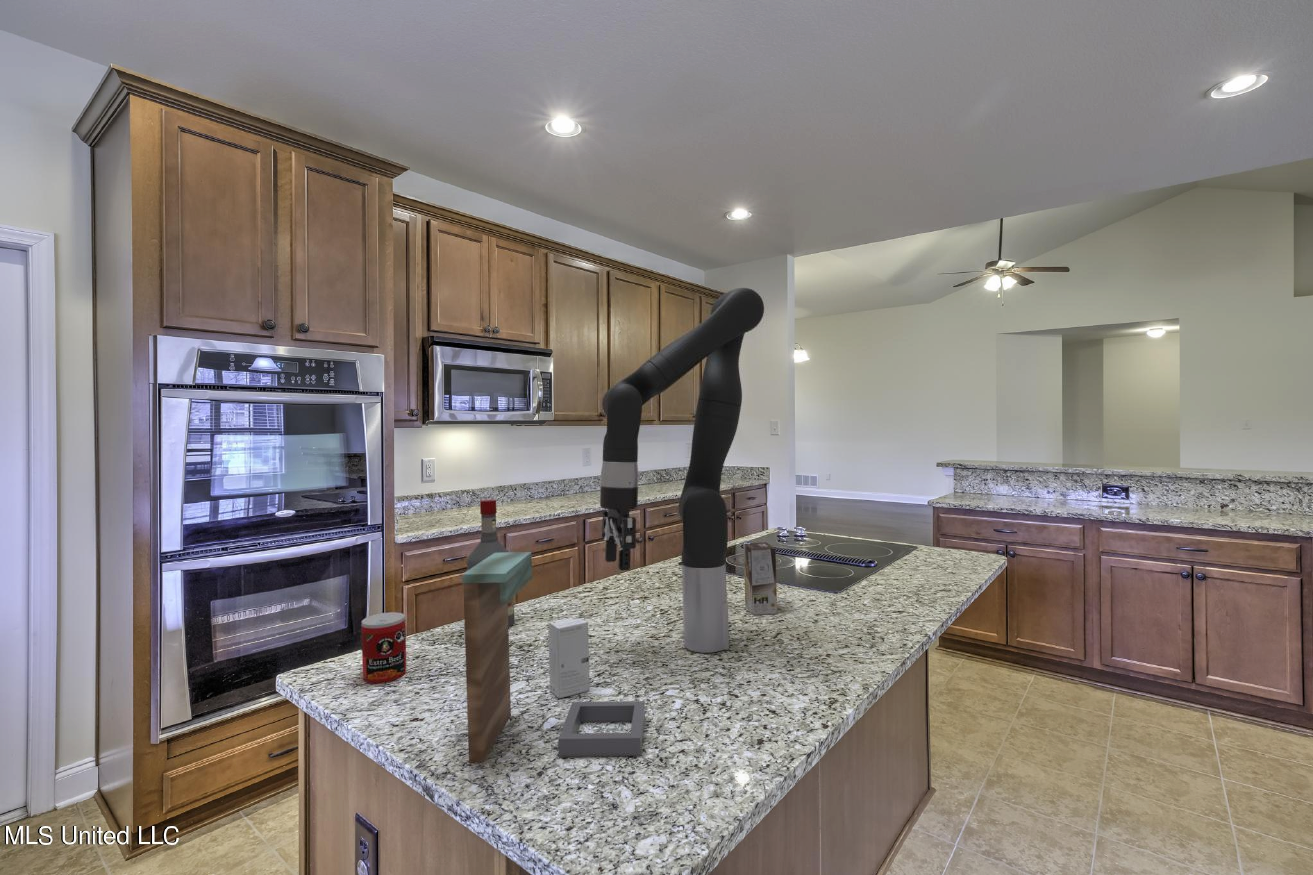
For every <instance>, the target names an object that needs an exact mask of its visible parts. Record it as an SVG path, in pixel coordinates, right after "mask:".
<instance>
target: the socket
mask: <svg viewBox="0 0 1313 875" xmlns="http://www.w3.org/2000/svg"><path fill="white" fill-rule="evenodd" d="M645 706H646V705H645V700H625V701H623V700H622V701H618V700H617V701H616V700H615V701H611V700H610V701H572V702H571V704H570V706H569V710H568V713H567V715H566V718H565V721H564V723H563V726H562V728H561V731H560V733H559V736H558V739H557V740H558V741H557V743H558V747H557V748H558V757H559V758H562V757H564V758H567V757H568V758H569V757H570V758H572V757H573V758H574V757H583V758H585V757H640V756H642V748H643V738H644V730H645V720H646V708H645ZM608 722H610V723H612V722H613V723H615V722H616V723H617V722H622V723H623V722H631V724H630V726H631V727H630V732H590V733H589V732H585V733H584V732H583V733H582V732H581V733H578V731H579V728H580V725H581V723H608Z"/></svg>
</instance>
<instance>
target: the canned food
mask: <svg viewBox="0 0 1313 875" xmlns="http://www.w3.org/2000/svg"><path fill="white" fill-rule="evenodd" d="M405 617H406V616H405V614H404V613H402V612H393V611H391V612H382V613H377V614H373V615H370V616H367V617H365V618H364V619H362V620H361V624H360V626H361V629H360V630H361V632H360V633H361V653H362V654H361V656H362V657H361V658H362V661H361V662H362V676H363V679H364V681H365V682H366V683H370V684H383V683H384V684H385V683H389V682H392V681H396V680H397V679H399V678H401V677H403V676H404V675H405V673H406V670H407V666H408V665H407V640H406V639H407V638H406V637H407V635H406V634H407V632H406V628H407V626H406V618H405Z"/></svg>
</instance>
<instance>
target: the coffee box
mask: <svg viewBox="0 0 1313 875" xmlns="http://www.w3.org/2000/svg"><path fill="white" fill-rule="evenodd" d="M742 545H743V571H744V598H745V599H744V600H745V603H744V604H745V607H746V606H747V607H746V608H747V609H748V611H750V613H751V614H752V615H753V616H755V615H756V616H757V615H758V616H759V615H775V614H776V615H777V613H778V595H777V594H778V593H777V592H778V591H777V587H778V586H777V585H778V584H777V558H776V557H777V556H776V555H777V554H776V552H777V551H776V548H775V547H774V546H772V545H771V544H769V543H768V542H765V541H764V542H748V543H745V542H744V543H743V544H742Z"/></svg>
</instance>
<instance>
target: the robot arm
mask: <svg viewBox="0 0 1313 875" xmlns="http://www.w3.org/2000/svg"><path fill="white" fill-rule="evenodd" d="M764 304H765V303H764V301H763V298H762V296H760V294H759V293H758V292H757V291H755V290H754V289H752V288H747V287H738V288H734V289H732V290H729V291H728V292H726V293H723V294H722V295H720V296H719V297H718V298H717V299H716V300H715V302H714V303H713V305H712V307H711V309H710V310H711V311H710V315H709V316H708V317H706V319H704V320H702V322H701V323H699V324H698V325H697V326H695V327H694V328H692V329H691V330H689V331H688V332H687V333H685V334H684V335H681V336H680V337H678V338H677V339H675V340H674V341H672V342H670V343H669V344H668V345H666V346H665V347H664V348H662V349H660V350H659V351H658V352H657V353H655V354H654V355H653V356H651V357H650V358H649V359H648V360H645V362H644V363H642V365H640V366H639V367H638V368H637V369H636V370H635V371H634V372H632V373H631V374H629V375H628V376H626V377H625V378H623V379H622V380H620V381H619V382H617V383H616V384H615V385H613V386H612V387H610V388H609V389H608V390H607V391H606V392H605V394H604V395H603V397H602V402H601V403H602V406H601V407H602V409H603V412H604V413H605V415H606V432H605V434H604V438H603V444H602V464H601V470H600V471H601V472H600V494H599V495H600V496H599V500H600V501H599V502H600V503H599V506H600V508H602V509H603V510H602V522H601V538H602V539H603V541H604V543H605V553H604V555H605V556H604V557H605V558H604V560H605V561H606V562H607V563H611V562H616V561H617V554H618V564H617V565H618V566H617V567H618V568H617V569H618V570H620V571H629V570H630V569H631V558H632V557H631V556H632V554H631V553H632V552H631V551H633V549H634V550H635V549H636V547H637V544H636V542H637V537H636V536H637V518H636V517H635V516H630V510H635V509H637V508H638V505H639V504H638V503H639V502H638V500H639V467H638V462H639V461H638V458H639V441H638V440H639V433H640V428H641V422H642V421H641V420H642V413H643V406H644V405H645V404H646V403H647V402H649V401H650V400H651V399H653V398H654V397H656V396H658V395H660V394H662V393H663V392H665V391H667V390H668V389H669V388H670V387H672V386H673V385H674V384H675V383H676V382H678V381H680V379H682V377H684V376H685V375H687V374H688V373H689V372H690V371H691V370H693V369H694V368H695V367H696V366H697V365H699V364H700V363H702V361H703V360H705V359H706V360H705V364H704V369H703V373H702V379H701V384H700V389H699V395H698V399H697V402H696V403H697V405H696V410H695V417H694V423H693V430H692V440H691V451H690V459H689V466H688V469H687V473H686V476H685V480H684V483H683V484H684V485H683V487H682V490H681V494H680V497H679V501H678V514H679V516H680V518H681V520H682V541H683V542H682V550H681V580H682V587H681V589H682V615H683V617H682V620H683V621H682V622H683V624H682V625H683V646H684V648H685V649H686V650H689V651H692V652H695V653H703V654H704V653H707V654H708V653H715V652H721V651H724V650H725V651H728V650H730V631H729V630H730V629H729V628H730V626H729V625H730V624H729V604H728V599H727V597H728V595H727V594H728V593H727V565H726V564H727V563H726V562H727V560H726V559H727V558H726V557H727V551H728V535H729V534H728V509H727V504H726V502H725V499H724V498H723V496H722V495H721V492H720V491H721V483H722V482H721V481H722V474H723V469H724V465H725V461H726V458H727V457H728V454H729V452H730V450H731V446H732V445H733V442H734V440H735V436H736V434H737V430H738V426H739V422H740V420H739V419H740V414H741V409H742V400H743V390H742V381H741V375H740V367H739V366H740V364H739V362H740V354H741V349H742V345H743V341H744V338H745V335H746V333H748V332H750V331H753V330H754V329H755V328H756V327H757V326H759V324H760V323H761V321H762V319H763V317H764V313H765V305H764ZM617 546H618V548H617ZM617 550H618V553H617Z"/></svg>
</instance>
